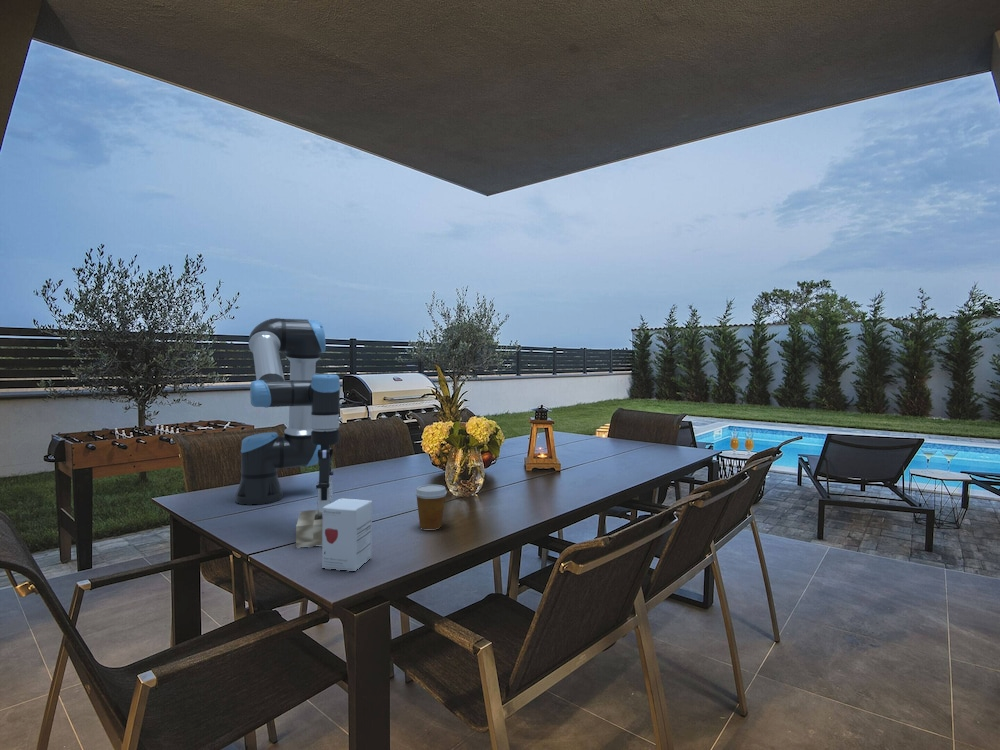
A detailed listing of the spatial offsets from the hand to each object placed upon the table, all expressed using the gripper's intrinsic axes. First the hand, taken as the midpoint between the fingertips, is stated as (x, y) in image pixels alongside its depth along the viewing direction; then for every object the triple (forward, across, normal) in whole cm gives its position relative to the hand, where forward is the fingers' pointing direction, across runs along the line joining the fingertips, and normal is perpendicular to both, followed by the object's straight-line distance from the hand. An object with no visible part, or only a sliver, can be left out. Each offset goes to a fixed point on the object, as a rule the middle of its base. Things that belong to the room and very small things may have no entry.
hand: (325, 504), depth 143 cm
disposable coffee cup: (+9, +1, -30) cm, 31 cm away
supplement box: (+10, -21, -6) cm, 24 cm away
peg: (+8, 0, 0) cm, 8 cm away
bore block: (+9, 0, 0) cm, 9 cm away
